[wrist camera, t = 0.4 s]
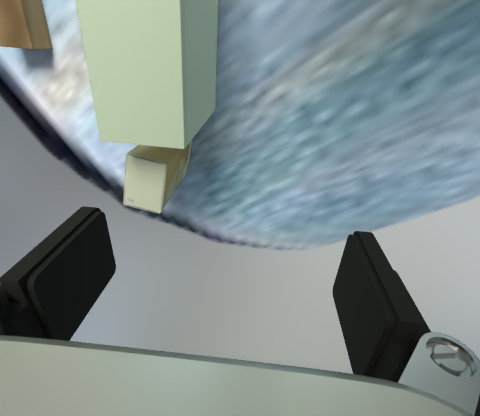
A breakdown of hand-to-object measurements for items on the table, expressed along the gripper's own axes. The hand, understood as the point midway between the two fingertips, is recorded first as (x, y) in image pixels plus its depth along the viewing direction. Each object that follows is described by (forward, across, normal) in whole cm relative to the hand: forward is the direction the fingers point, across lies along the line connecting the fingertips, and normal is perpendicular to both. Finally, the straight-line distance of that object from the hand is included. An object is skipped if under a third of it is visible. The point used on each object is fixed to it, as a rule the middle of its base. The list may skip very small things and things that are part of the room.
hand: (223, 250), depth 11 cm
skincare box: (+30, +11, +6) cm, 32 cm away
